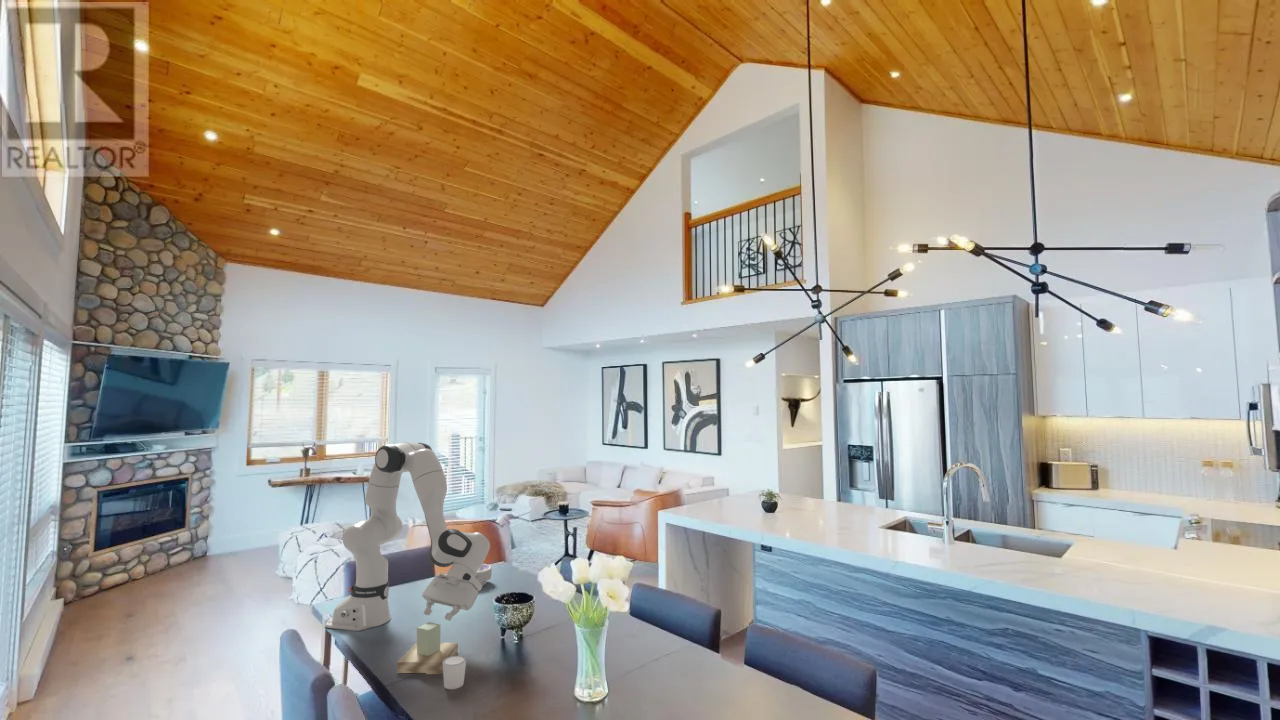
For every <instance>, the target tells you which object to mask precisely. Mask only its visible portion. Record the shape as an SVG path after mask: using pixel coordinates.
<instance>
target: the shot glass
mask: <svg viewBox="0 0 1280 720" xmlns="http://www.w3.org/2000/svg"><path fill="white" fill-rule="evenodd" d="M466 665H467V657H466V656H464V655H458V654H457V655H456V656H451V657H448V658H446V659H444V660H443V674H442V676H443V687H444V689H447V690H455V689H456V690H457V689H459V688H461V687H463V686H464V683H465V675H466V674H465V673H466Z"/></svg>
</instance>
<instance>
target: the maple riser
mask: <svg viewBox="0 0 1280 720" xmlns="http://www.w3.org/2000/svg"><path fill="white" fill-rule="evenodd" d="M458 649H459V643H458V642H440V650H439V651H437V652H435V653H433V654H431V655H430V656H425V655H421V654H417V641H416V642H415V643H414V644H413V645H412V647H411V648H410V649H408V650H407V652H405V653H404V655H403V656H402V657H401V658H400V659H399V660H398V661H397V666H396V667H397V669H396V671H397V672H396V674H397V673H426V674H425V675H443V674H442V673H443V660H444V659H446V658H448V657H451V656H457V655H458V653H459V651H458Z"/></svg>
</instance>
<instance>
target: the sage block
mask: <svg viewBox="0 0 1280 720" xmlns="http://www.w3.org/2000/svg"><path fill="white" fill-rule="evenodd" d="M416 642H417V654H421V655H425V656H430V655H431V654H433V653H435V652H437V651H439V650H440V643H441V624H439V623H435V622H430V621H429V622H426V623H424V624H422V625H420V626H417V628H416Z"/></svg>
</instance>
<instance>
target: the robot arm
mask: <svg viewBox="0 0 1280 720" xmlns="http://www.w3.org/2000/svg"><path fill="white" fill-rule="evenodd" d="M374 461H375V462H374V464H373V467H372V469H371V472H370V475H369V479H368V484H367V488H366V491H365V492H366V493H365V498H364V502H365V504H366V506H367V507H368V508H370V517H369V518H367V519H363V520H359V521H357V522H355V523H353V524H352V525H350V526H348V527H347V528H346V529H345V530H344V531H343V535H342V543H343V546H344V548H345V549H346V550H347V551H349V552H350V553H351V554H352V555H353V558H354V562H355V578H356V579H355V583H354V585H352V586H351V587H350V588H349V589H348V592H349V593H350V595H348V596H347V597H346V598H344V599H343V600H342V601H341V602H339V603H338V604H337V605H336V607H335V608H334V610H333V613H332V617H330V618H328V620H327V621H326V622H325V628H327V629H336V630H344V631H356V632H358V631H363V630H366V629H370V628H375V627H378V626H382V625H385V624H386V623H388V622H389V621H390V620H391V619H392V615H391V612H390V607H389V598H388V597H389V590H390V587H389V586H390V585H389V583H390V581H389V580H388V579H389V575H388V574H389V573H388V572H389V561H388V559H387V558H386V557H384V556H383V555H382V553H381V547H380V546H381V545H384V544H386V543H387V544H388V543H389V542H391V541H392V540H395V539H396V538H397V537H398V536H400V534H401V533H402V531H403V522H402V520H401V518H400V517H399V516H398V514H397V499H398V498H397V497H398V493H399V489H400V485H401V484H400V483H401V478H402V474H403V473H407V472H409V473H410V476H411V479H412V480H411V481H412V483H413V487H414V490H415V492H416V496H417V498H418V500H419V503H420V505H421V509H422V512H423V515H424V518H425V521H426V522H425V523H426V526H427V530H428V534H429V538H430V550H429V557H430V560H431V562H432V563H433V564H434V565H435V566H438V567H440V568H448V567H450V566H451V567H450V569H449V570H448V571H447V573H446V574H442V573H440V574H439V575H436V576H434V578H432V579H431V581H430V582H429V583H428V585H427V586H426V587H425V588H424V590H423V591H422V594H421V595H422V598H423V599H424V600H425V601H426V607H425V609H424V611H423V614H424V615H426V616H430V615H431V613H432V612H433V610H432V606H434V605H435V604H437V605H438V604H439V605H442V606H447V607H450V608H452V609H451V611H449V612H447V613H446V614H445V616H444V620H446V621H448V622H449V621H452V619H453V617H455V616H456V615H457V614H458V613H459V612H460V611H461V610H464V611H469V610H471V609H472V607H473V606H474V604H475V603H476V601H477V598H478V596H479V592H481V589H482V588H483V586H482V585H481V584H480V583H479V581H478V580H477V579H476V578H475V576H476V572H477V570H478V568H479V567H480V566H481V565H482V564H484V562H485V560H486V558H487V556H488V554H489V551H490V549H491V542H490V540H489V539H488V537H486V535H484V534H483V533H481V532H478V531H475V532H464V531H460V530H458V529H455V528H448V527H447V522H446V519H445V515H444V503H445V499H446V495H447V493H448V486H447V485H448V484H447V479H446V475H445V472H444V469H443V467H442V465H441V462H440V460H439V458H438V456H437V455H436V453H435V451H434V450H433V449H432V447H431V446H430V445H428V444H427V443H423V442H400V443H388V444H385V445H382V446H380V447H379V448H378V449H377V451H376V452H375V456H374Z"/></svg>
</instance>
